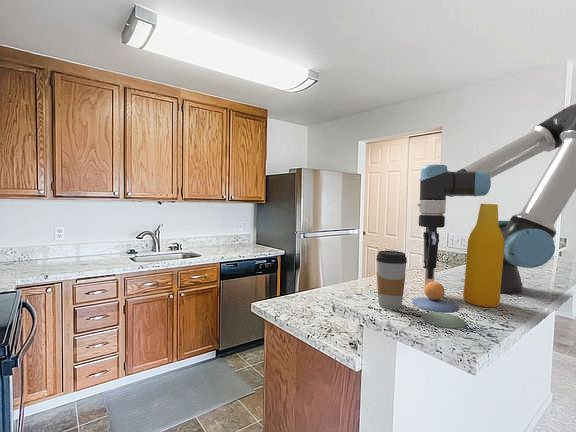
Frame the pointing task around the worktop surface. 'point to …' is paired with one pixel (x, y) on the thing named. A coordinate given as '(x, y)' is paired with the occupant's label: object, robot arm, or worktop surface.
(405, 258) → the coffee cup
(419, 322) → the worktop surface
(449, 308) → the disc
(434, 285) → the ball
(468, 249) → the beer bottle
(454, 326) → the disc
